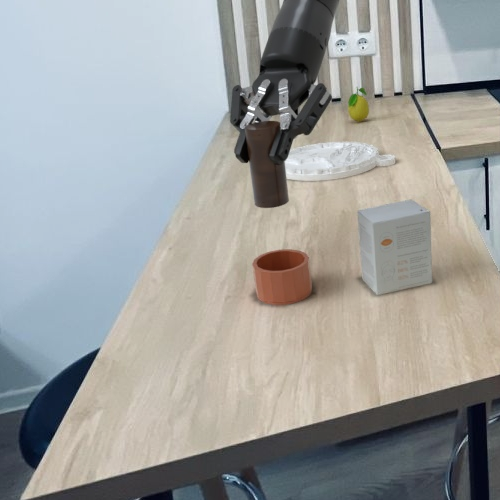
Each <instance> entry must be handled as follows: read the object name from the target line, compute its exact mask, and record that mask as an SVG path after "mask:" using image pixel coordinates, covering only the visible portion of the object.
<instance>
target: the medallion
mask: <svg viewBox="0 0 500 500" xmlns="http://www.w3.org/2000/svg"><path fill="white" fill-rule="evenodd" d="M395 164H396V156H395V155H394V154H380V152H379V150H378V147H375V146H374V144H368V143H367V142H359V141H346V140H345V141H329V142H318V143H314V144H306V145H304V146H298V147H294V148H291V149H290V152H289V155H288V158H287V159H286V160H285V169H286V178H287V180H293V181H308V182H309V181H310V182H313V181H330V180H337V179H342V178H343V179H344V178H347V177H352V176H356V175H359V174H363V173H365V172H368V171H370V170H372V169H374V168H375V167H389V166H392V165H395Z"/></svg>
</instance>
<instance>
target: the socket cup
mask: <svg viewBox="0 0 500 500" xmlns="http://www.w3.org/2000/svg"><path fill="white" fill-rule="evenodd" d="M310 261H311V260H310V256H309V255H308V253H306V252H304V251H301V250H298V249H292V248H291V249H290V248H287V249H276V250H270V251H267V252H265V253H261V254H260V255H258V256H257V257H255V258H254V259H253V261H252V263H251V266H252V267H251V268H252V273H253V274H252V275H253V280H254V289H255V295H256V298H257V299H258V300H259V301H260V302H262V303H263V304H267V305H273V306H286V305H291V304H296V303H299V302H302V301H303V300H305V299H307V298H308V297H309V296H310V295H311V294H312V292H313V280H312V271H311V263H310Z"/></svg>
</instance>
